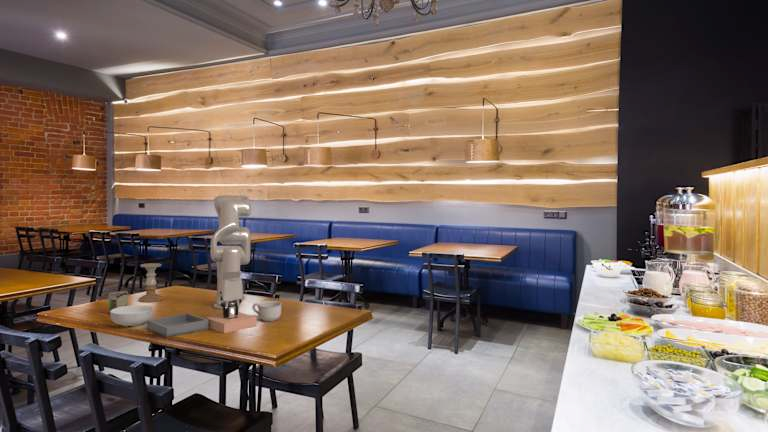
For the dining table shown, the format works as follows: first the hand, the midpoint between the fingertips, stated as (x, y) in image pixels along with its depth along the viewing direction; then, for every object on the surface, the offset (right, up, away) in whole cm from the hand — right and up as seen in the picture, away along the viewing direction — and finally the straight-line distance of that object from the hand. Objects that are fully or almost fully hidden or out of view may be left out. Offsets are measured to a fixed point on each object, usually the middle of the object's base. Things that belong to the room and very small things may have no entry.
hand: (230, 315), depth 201 cm
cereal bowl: (-44, -4, 0) cm, 44 cm away
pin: (0, -5, 0) cm, 5 cm away
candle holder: (-62, -3, +51) cm, 80 cm away
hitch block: (0, -5, 0) cm, 5 cm away
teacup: (+13, -5, +13) cm, 19 cm away
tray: (-21, -5, -6) cm, 22 cm away
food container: (-63, -3, +19) cm, 66 cm away
